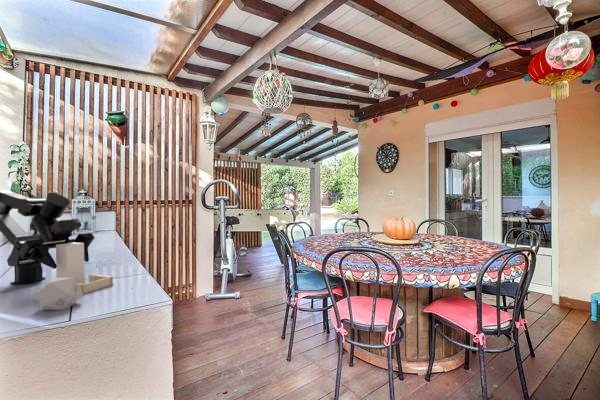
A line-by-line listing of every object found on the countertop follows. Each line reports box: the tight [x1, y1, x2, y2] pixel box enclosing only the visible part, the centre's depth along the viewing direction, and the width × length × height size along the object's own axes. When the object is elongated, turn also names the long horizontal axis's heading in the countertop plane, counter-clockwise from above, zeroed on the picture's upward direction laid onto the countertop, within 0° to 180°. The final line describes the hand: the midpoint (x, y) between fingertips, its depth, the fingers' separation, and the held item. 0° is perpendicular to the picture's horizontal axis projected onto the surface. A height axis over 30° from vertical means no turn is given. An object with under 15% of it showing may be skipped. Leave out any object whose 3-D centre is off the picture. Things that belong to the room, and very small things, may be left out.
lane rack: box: [77, 273, 115, 295], centre depth 89 cm, size 16×10×3 cm, turn 70°
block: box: [55, 242, 86, 284], centre depth 90 cm, size 5×5×13 cm
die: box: [34, 277, 84, 311], centre depth 72 cm, size 8×9×10 cm
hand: (72, 264), depth 90 cm, fingers open, 9 cm apart
